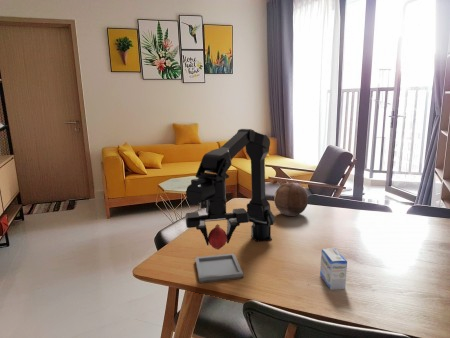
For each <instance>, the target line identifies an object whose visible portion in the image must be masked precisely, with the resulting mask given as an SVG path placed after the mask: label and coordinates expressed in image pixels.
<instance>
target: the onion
mask: <svg viewBox="0 0 450 338" xmlns="http://www.w3.org/2000/svg"><path fill="white" fill-rule="evenodd" d="M208 241H209V245H210V247H212V248H213V249H215V250H220V249H221V248H222V247H224V246H225V245H226V244H227V232H226V231H225V230H224V229H223V228H221V227H220V224H216V225H215V226H214V228H212V229H211V230H210V232H209V234H208Z"/></svg>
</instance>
